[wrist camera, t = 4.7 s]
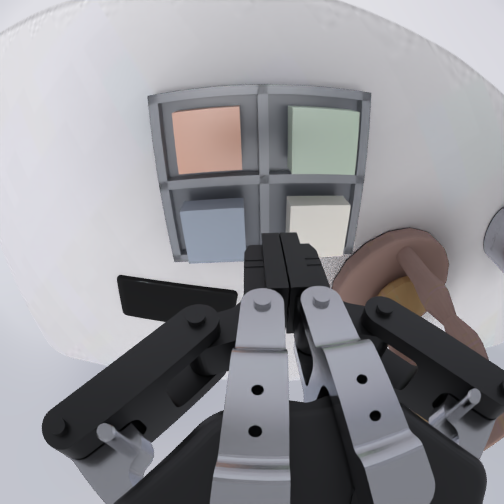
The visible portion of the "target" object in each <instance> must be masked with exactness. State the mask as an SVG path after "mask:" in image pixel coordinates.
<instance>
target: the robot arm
mask: <svg viewBox="0 0 504 504" xmlns="http://www.w3.org/2000/svg"><path fill="white" fill-rule="evenodd" d="M484 251H485V253H486V254H487V255H488V257H489V258H490V259H491V260H492V261H493V262H494V263H495V264H496V265H497V266H498V267H499V269H500V270H501V271H502V272H503V273H504V208H502V209H501V210H500V211H499V212H498V213H497V214H496V215H495V217H494V218H493V220H492V221H491V223H490V225H489V227H488V230H487V232H486V235H485V240H484ZM285 327H286V333H294V338H295V342H294V354H295V358H296V362H297V366H298V371H299V375H300V379H301V383H302V387H303V393H304V402H297V401H290V400H289V379H288V352H287V349H286V344H285ZM388 345H390V346H391V347H393V348H394V349H396V350H397V351H399V352H400V353H402V354H403V355H405V356H406V357H408V358H409V359H411V360H412V361H414V362H415V363H416V364H417V366H415V365H412V364H410V363H408V362H407V361H405V360H404V359H402V358H401V357H399V356H398V355H396V354H395V353H394V352H392V351H391V350H389V349H388V348H387V347H388ZM226 371H229V374H228V382H227V390H226V397H225V405H224V410H223V411H220V412H218V413H216V414H214V415H212V416H210V417H209V418H207V419H206V420H204V421H203V422H202V423H200V424H199V425H198V426H197V427H196V428H195V429H194V430H193V431H192V432H191V433H190V434H189V435H188V436H187V437H186V438H185V439H184V440H183V442H181V443H180V444H179V445H178V446H177V447H176V448H175V449H174V450H173V451H172V452H171V453H170V454H169V455H168V456H167V457H166V458H165V459H163V460H162V461H161V462H160V463H159V464H158V465H157V466H156V467H155V468H154V469H153V470H151V471H150V472H149V473H148V474H147V475H146V476H145V477H144V478H143V475H144V472H145V470H146V468H147V467H148V466H149V465H150V464H151V462H152V460H153V458H154V449H153V446H152V444H151V443H152V442H153V441H154V440H155V439H156V438H157V437H159V436H160V435H161V434H162V433H163V432H164V431H165V430H167V429H168V428H169V427H170V426H171V425H172V424H173V423H174V422H176V421H177V420H178V419H179V418H180V417H181V416H182V415H183V414H184V413H185V412H187V410H189V409H190V408H191V407H192V406H193V405H194V404H195V403H196V402H197V401H198V400H199V399H200V398H201V397H203V396H204V394H206V393H207V392H208V391H209V390H210V389H211V388H212V387H213V386H214V385H215V384H216V383H217V382H218V381H219V380H220V379H221V378H222V377H223V376H224V375H225V373H226ZM414 412H415V413H414ZM503 413H504V370H502V369H501V368H499V367H498V366H497V365H495V364H494V363H492V362H491V361H489V360H488V359H486V358H485V357H483V356H482V355H480V354H478V353H477V352H475V351H474V350H472V349H471V348H469V347H468V346H466V345H465V344H463V343H462V342H460V341H458V340H457V339H455V338H454V337H452V336H451V335H449V334H447V333H446V332H444V331H443V330H441V329H440V328H438V327H436V326H435V325H433V324H432V323H430V322H428V321H427V320H425V319H423V318H422V317H420V316H419V315H417V314H415V313H414V312H412V311H410V310H409V309H407V308H406V307H404V306H402V305H401V304H399V303H397V302H396V301H394V300H392V299H390V298H387V297H383V296H376V297H372V298H370V299H369V300H368V301H367V302H366V304H365V306H362V305H356V304H351V303H347V302H344V301H342V299H341V297H340V295H339V294H338V293H337V292H336V291H334V290H333V289H331V288H330V286H329V283H328V280H327V277H326V275H325V272H324V269H323V267H322V264H321V261H320V259H319V256H318V253H317V251H316V249H315V248H314V247H312V246H311V245H310V244H309V243H305V244H300V241H299V238H298V235H297V232H284V233H261V245H249V246H248V248H247V249H246V250H245V252H244V296H243V298H242V300H241V301H240V302H239V303H238V304H237V305H236V306H234V307H233V308H230V309H228V310H224V311H221V312H217V311H216V310H215V309H214V308H212V307H210V306H208V305H203V304H195V305H191V306H188V307H186V308H184V309H182V310H181V311H180V312H178V313H177V314H176V315H175V316H173V317H172V318H171V319H169V320H168V321H167V322H165V323H164V324H163V325H161V326H160V327H159V328H158V329H156V330H155V331H154V332H152V333H151V334H150V335H148V336H147V337H146V338H144V339H143V340H142V341H140V342H139V343H138V344H137V345H135V346H134V347H133V348H131V349H130V350H129V351H127V352H126V353H125V354H123V355H122V356H121V357H119V358H118V359H117V360H116V361H114V362H113V363H112V364H110V365H109V366H108V367H106V368H105V369H104V370H102V371H101V372H100V373H98V374H97V375H96V376H95V377H93V378H92V379H91V380H89V381H88V382H87V383H85V384H84V385H83V386H81V387H80V388H79V389H77V390H76V391H75V392H73V393H72V394H71V395H70V396H68V397H67V398H66V399H64V400H63V401H62V402H60V403H59V404H58V405H56V406H55V407H54V408H52V409H51V410H50V411H49V412H48V413H47V414H46V416H45V417H44V419H43V423H42V433H43V436H44V439H45V440H46V442H47V443H48V444H49V445H50V446H51V447H53V448H55V449H56V450H58V451H59V452H61V453H63V454H64V455H66V456H67V457H68V458H70V459H71V460H72V461H73V462H74V463H75V465H76V466H77V467H78V469H79V470H80V472H81V473H82V475H83V476H84V477H85V479H86V480H87V481H88V483H89V484H90V485H91V486H92V488H93V489H94V490H95V491H96V492H97V494H98V495H99V496H100V498H101V499H102V500H103V501H104V502H105V503H106V504H482V503H483V498H484V495H485V491H486V484H487V477H486V472H485V469H484V466H483V465H482V463H481V462H480V460H479V459H480V457H481V455H482V453H483V451H484V448H485V446H486V444H487V441H488V439H489V436H490V434H491V431H492V429H493V426H494V423H495V420H496V419H497V418H498V417H499V416H500V415H501V414H503ZM417 414H418V415H419V416H418V415H417ZM420 416H421V417H422V418H424V419H425V420H427V421H428V422H429V423H428V422H426V421H425V420H424V419H422V418H421V417H420Z"/></svg>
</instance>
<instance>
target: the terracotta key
mask: <svg viewBox="0 0 504 504" xmlns="http://www.w3.org/2000/svg"><path fill="white" fill-rule="evenodd" d="M172 120H173V130H174V139H175V148H176V157H177V165H178V172H179V174H189V173H201V172H214V171H230V170H242V151H241V128H240V105H234V106H219V107H207V108H197V109H188V110H180V111H176V112H173V113H172Z"/></svg>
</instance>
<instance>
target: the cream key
mask: <svg viewBox="0 0 504 504" xmlns="http://www.w3.org/2000/svg"><path fill="white" fill-rule="evenodd" d="M350 207H351V205H350V204H349V202H348V201H347V200H346V199H345V198H344V196H287V205H286V232H297V235H298V238H299V241H300V244H305V243H309V244H310V245H311V246H312V247H314V248H315V249H316V251H317V253H318V256H319V257H335V256H343V251H344V245H345V239H346V233H347V227H348V221H349V214H350Z"/></svg>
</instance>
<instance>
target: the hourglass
mask: <svg viewBox="0 0 504 504" xmlns="http://www.w3.org/2000/svg"><path fill="white" fill-rule="evenodd" d="M448 267H449V262H448V259H447V255H446V251H445V249H444V247H443V246H442V245H441V244H440V243H439V242H438V241H437V240H436V239H435V238H434V237H433V236H431V235H430V234H429V233H428V232H426V231H422V230H417V229H413V228H406V229H401V230H395V231H390V232H387V233H385V234H383V235H381V236H379V237H377V238H375V239H374V240H372V241H370V242H368V243H366V244H365V245H364V246H362V247H361V248H360V249H359V250H358V251H357V252H356V253H355V254H354V255H353V256H352V257H350V258H349V259H348V260H347V261H346V263H345V264H344V266H343V267H342V269H341V270H340V272H339V274H338V275H337V277H336V278H335V280H334V282H333V287H332V289H333V290H334V291H336V292H337V293H338V294H339V295H340V297H341V299H342V301H344V302H347V303H351V304H356V305H362V306H365V304H366V302H367V301H368V300H369V299H370V298H372V297H376V296H383V297H387V298H390V299H392V300H394V301H396V302H397V303H399V304H401V305H402V306H404V307H406V308H407V309H409V310H410V311H412V312H414V313H415V314H417V315H419V316H420V317H421V316H422V315H423V314H425V313H426V312H427V311H428V312H429V313H430V314H431V315H432V316H433V317H435V318H436V319H437V320H438V321H439V322H440V323H441V324H442V325H444V328H445V332H446V333H447V334H449V335H451V336H452V337H454V338H455V339H457V340H458V341H460V342H462V343H463V344H465V345H466V346H468V347H469V348H471V349H472V350H474V351H475V352H477V353H478V354H480V355H482V356H483V357H485V358H486V359H488V356H487V353H486V350H485V348H484V345H483V343H482V341H481V339H480V338H479V336H478V334H477V333H476V332H475V331H474V330H473V329H472V328H471V327H470V326H468V325H467V324H466V323H465V322H464V321H462V320H461V319H460V318H459V317H458V316H456V313H455V309H454V306H453V303H452V300H451V297H450V294H449V291H448V289H447V288H446V287H445V283H446V280H447V274H448ZM388 347H389V350H391V351H392V352H394V353H395V354H396V355H398V356H399V357H401V358H402V359H404V360H405V361H407V362H408V363H410V364H412V365H415V366H417V364H416V363H415V362H414V361H412V360H411V359H409V358H408V357H406V356H405V355H403V354H402V353H400V352H399V351H397V350H396V349H394V348H393V347H391V346H390V345H388ZM488 360H489V359H488ZM414 413H415V412H414ZM417 415H418V414H417ZM418 416H419V415H418ZM420 417H421V416H420ZM421 418H422V417H421ZM422 419H424V418H422ZM424 420H425V419H424ZM425 421H426V422H428V421H427V420H425ZM428 423H429V422H428ZM503 437H504V413H503V414H501V415H500V416H499V417H498V418H497V419H496V420H495V423H494V426H493V429H492V431H491V434H490V436H489V439H488V441H487V444H486V446H485V448H484V451H485V450H486V449H488V448H489V447H490V446H492V445H494V444H495V443H496V442H498V441H499V440H500V439H502V438H503Z"/></svg>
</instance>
